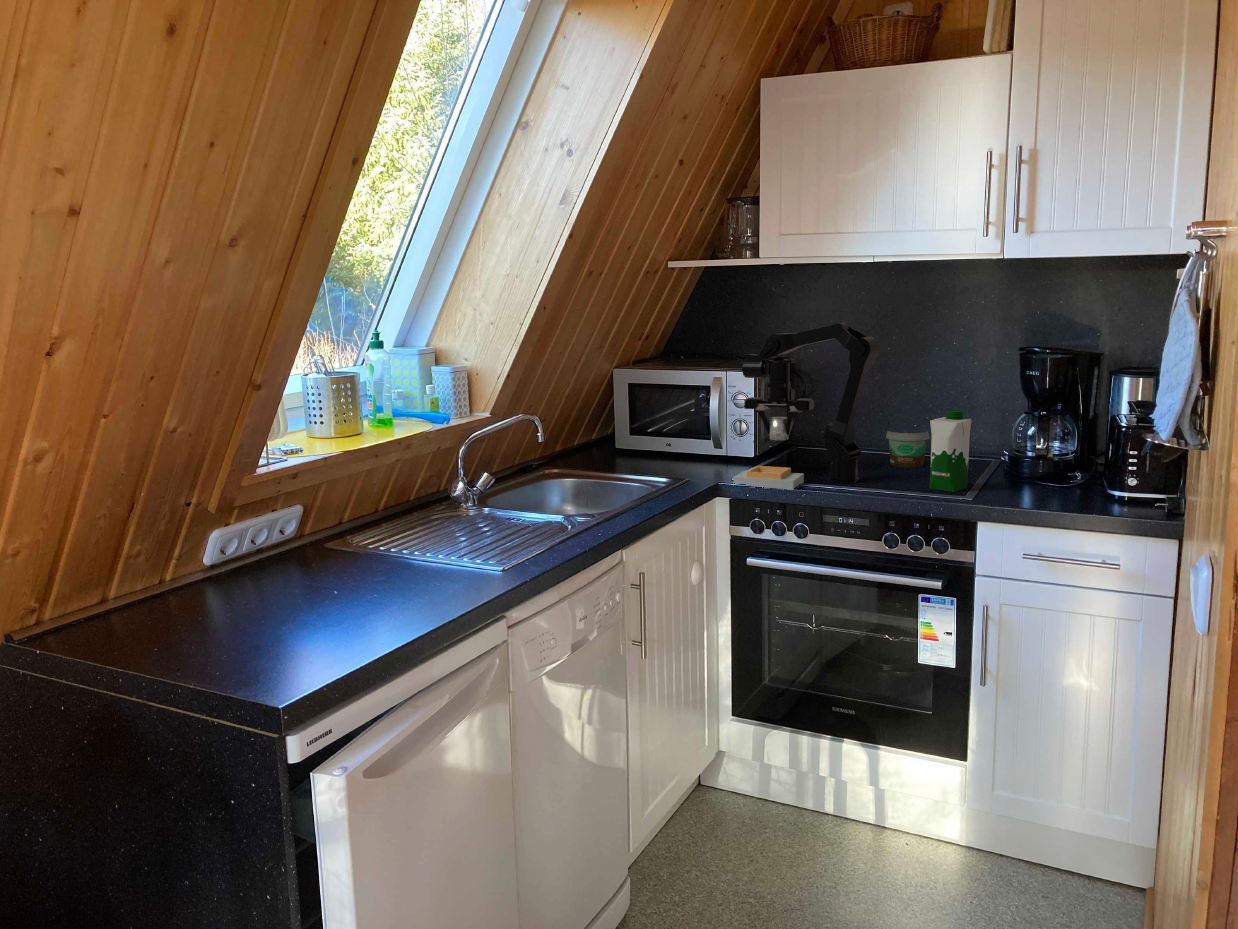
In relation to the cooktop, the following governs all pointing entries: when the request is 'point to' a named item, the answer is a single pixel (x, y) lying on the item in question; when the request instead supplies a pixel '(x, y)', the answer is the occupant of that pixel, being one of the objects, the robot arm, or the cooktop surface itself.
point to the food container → (907, 448)
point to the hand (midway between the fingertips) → (778, 434)
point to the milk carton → (950, 452)
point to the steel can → (778, 428)
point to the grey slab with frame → (770, 477)
